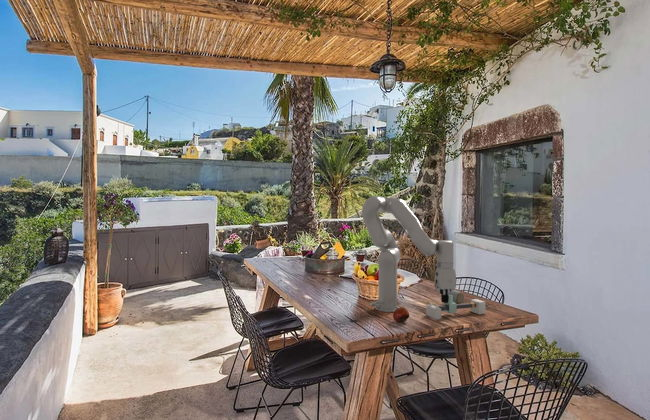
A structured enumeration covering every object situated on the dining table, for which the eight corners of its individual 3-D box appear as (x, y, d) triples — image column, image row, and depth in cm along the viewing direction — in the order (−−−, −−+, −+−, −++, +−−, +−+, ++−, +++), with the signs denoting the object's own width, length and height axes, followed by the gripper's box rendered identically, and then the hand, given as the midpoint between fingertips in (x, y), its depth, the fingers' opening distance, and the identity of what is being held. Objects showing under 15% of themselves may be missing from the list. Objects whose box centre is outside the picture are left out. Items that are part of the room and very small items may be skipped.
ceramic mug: (457, 305, 212) (457, 291, 212) (444, 302, 218) (444, 289, 218) (468, 303, 219) (468, 289, 219) (455, 300, 225) (455, 287, 225)
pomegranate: (411, 328, 180) (403, 310, 188) (414, 318, 176) (406, 300, 183) (396, 330, 179) (389, 312, 186) (398, 321, 174) (391, 303, 182)
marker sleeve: (449, 313, 191) (449, 296, 191) (444, 311, 195) (444, 294, 195) (456, 312, 193) (456, 295, 193) (450, 310, 197) (451, 294, 197)
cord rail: (436, 319, 186) (436, 306, 186) (426, 314, 194) (426, 302, 194) (486, 314, 197) (486, 301, 197) (475, 309, 204) (475, 298, 204)
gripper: (437, 267, 186) (436, 305, 187) (462, 266, 191) (462, 303, 192) (427, 265, 193) (427, 301, 194) (452, 263, 198) (452, 299, 199)
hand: (444, 302), depth 193 cm, fingers closed
